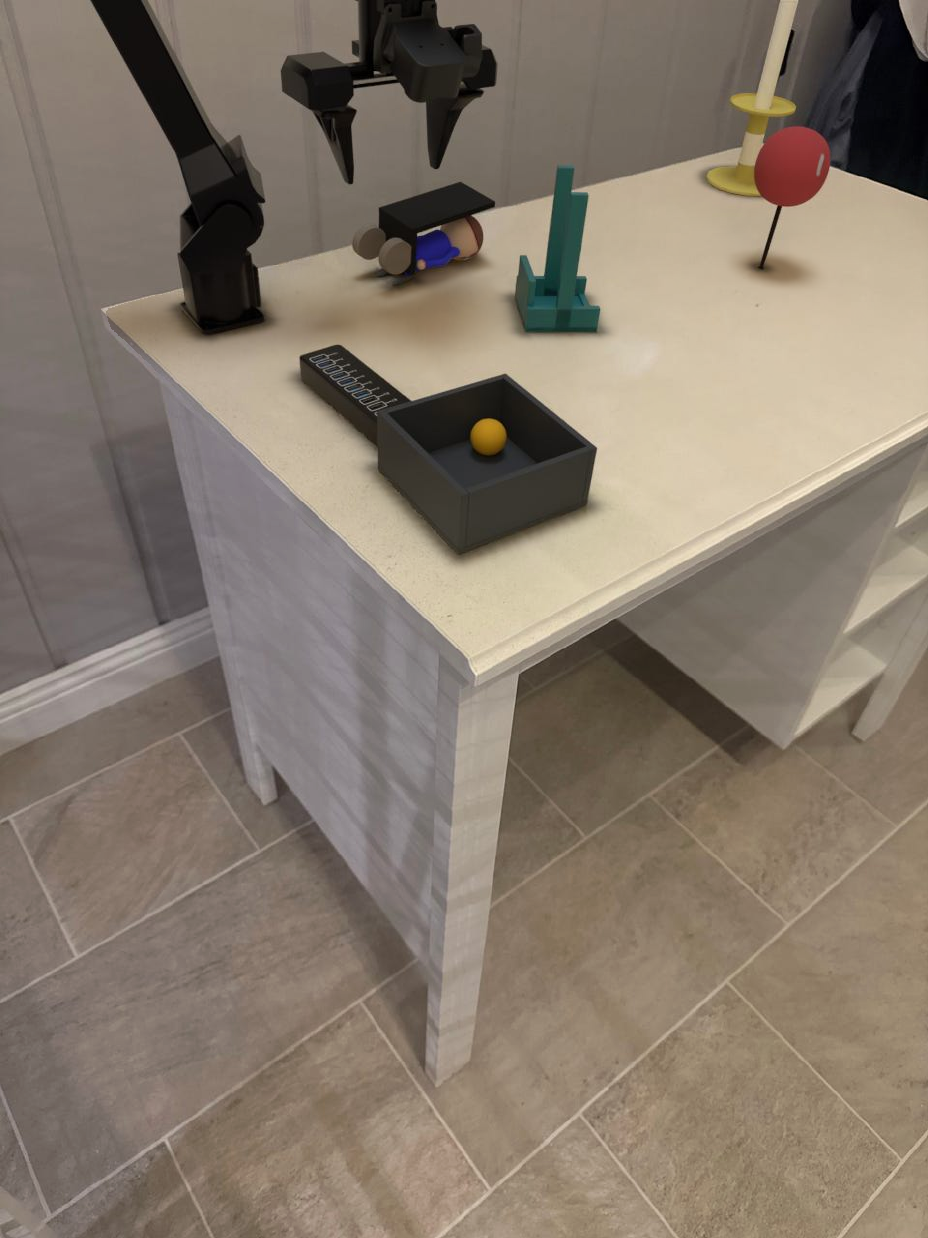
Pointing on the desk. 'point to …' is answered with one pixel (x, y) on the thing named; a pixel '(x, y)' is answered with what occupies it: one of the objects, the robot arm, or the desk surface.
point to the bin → (483, 462)
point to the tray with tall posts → (558, 269)
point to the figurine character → (419, 214)
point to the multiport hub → (349, 387)
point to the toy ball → (488, 437)
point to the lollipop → (790, 170)
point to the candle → (759, 110)
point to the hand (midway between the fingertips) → (392, 175)
